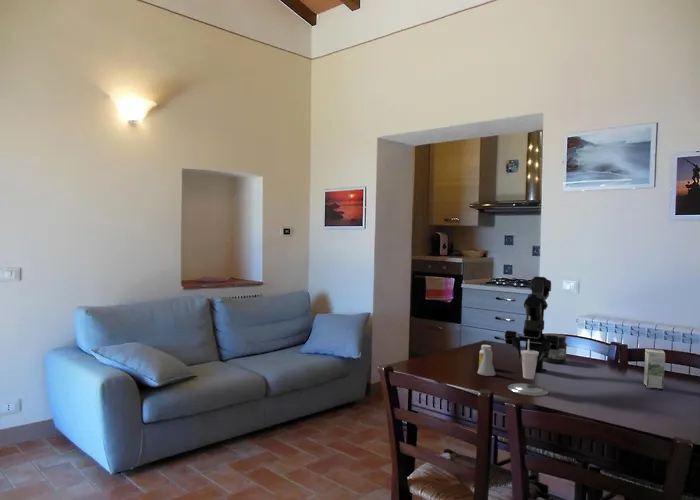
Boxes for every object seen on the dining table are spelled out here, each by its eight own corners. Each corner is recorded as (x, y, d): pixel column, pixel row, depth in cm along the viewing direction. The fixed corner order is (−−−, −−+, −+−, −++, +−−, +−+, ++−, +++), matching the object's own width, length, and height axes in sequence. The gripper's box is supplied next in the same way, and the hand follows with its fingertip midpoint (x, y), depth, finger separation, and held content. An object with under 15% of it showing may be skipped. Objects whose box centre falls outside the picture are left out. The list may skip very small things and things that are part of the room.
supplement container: (544, 357, 243) (546, 332, 243) (568, 361, 237) (569, 335, 237) (538, 361, 235) (539, 335, 234) (562, 365, 228) (564, 338, 228)
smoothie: (518, 374, 192) (520, 337, 191) (536, 376, 190) (538, 338, 190) (520, 379, 185) (522, 340, 185) (539, 380, 184) (540, 342, 183)
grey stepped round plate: (521, 382, 197) (521, 379, 197) (555, 391, 187) (555, 389, 187) (500, 388, 188) (500, 385, 188) (535, 398, 178) (535, 395, 178)
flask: (496, 377, 204) (497, 352, 204) (477, 375, 205) (478, 350, 205) (494, 372, 211) (495, 348, 211) (476, 371, 212) (477, 347, 212)
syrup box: (659, 386, 200) (661, 349, 199) (663, 390, 194) (665, 352, 194) (643, 384, 202) (645, 347, 201) (646, 388, 196) (648, 350, 196)
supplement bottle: (491, 370, 214) (492, 347, 214) (477, 368, 216) (479, 346, 216) (492, 367, 219) (493, 345, 219) (479, 366, 221) (480, 343, 221)
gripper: (506, 309, 194) (501, 343, 185) (559, 313, 187) (556, 350, 177) (508, 326, 202) (503, 360, 192) (559, 331, 194) (556, 367, 184)
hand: (529, 359), depth 186 cm, fingers closed on smoothie, 6 cm apart
